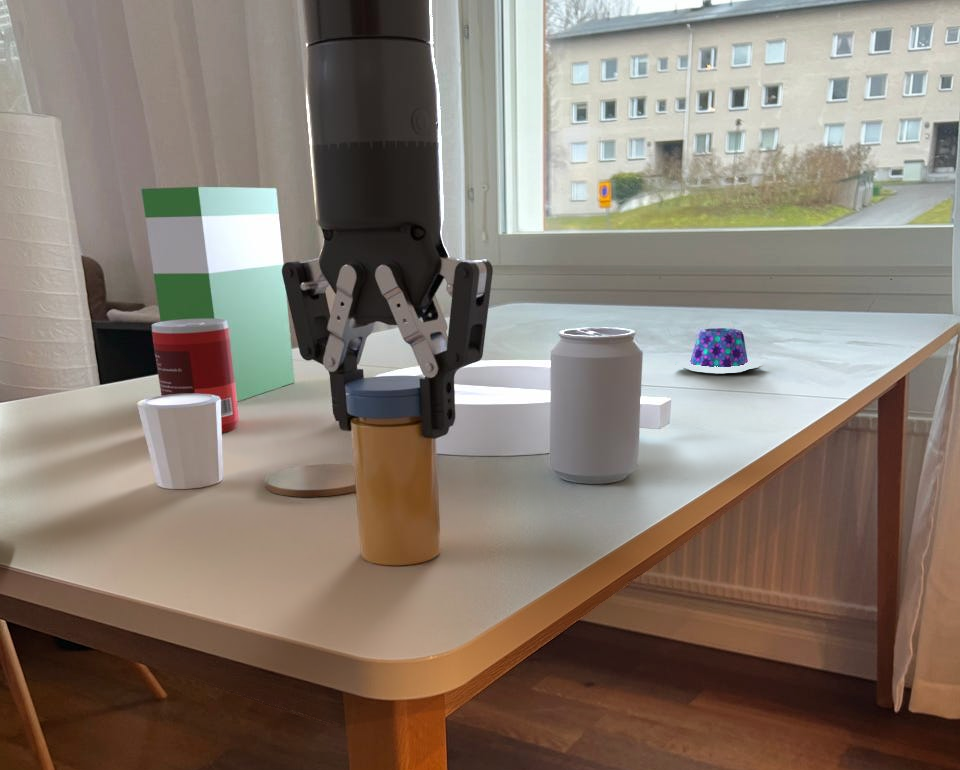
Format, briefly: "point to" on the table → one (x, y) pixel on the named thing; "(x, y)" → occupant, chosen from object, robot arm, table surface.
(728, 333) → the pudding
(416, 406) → the lid
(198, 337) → the canned food
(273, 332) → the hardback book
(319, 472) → the coaster
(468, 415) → the white circle with bar
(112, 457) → the table surface
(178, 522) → the table surface
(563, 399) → the can
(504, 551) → the table surface
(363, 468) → the jar
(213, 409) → the white faceted cup
